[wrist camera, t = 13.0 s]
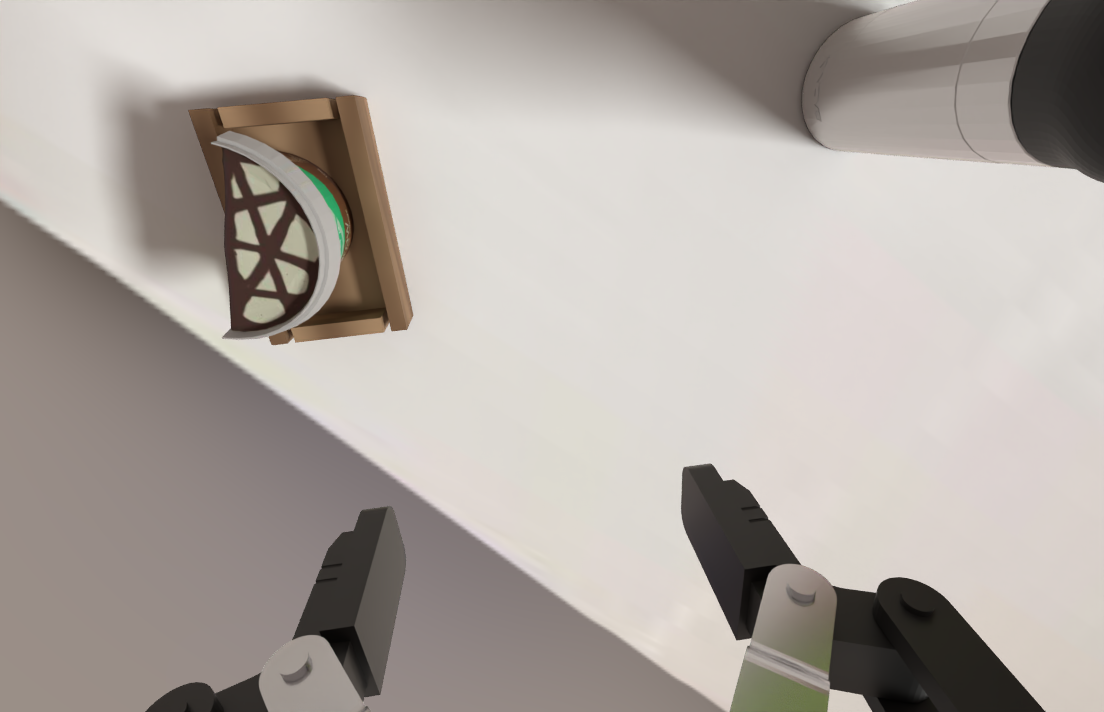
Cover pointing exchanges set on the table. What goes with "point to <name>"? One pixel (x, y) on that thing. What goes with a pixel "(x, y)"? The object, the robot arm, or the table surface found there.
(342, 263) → the holder
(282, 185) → the food container
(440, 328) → the table surface
